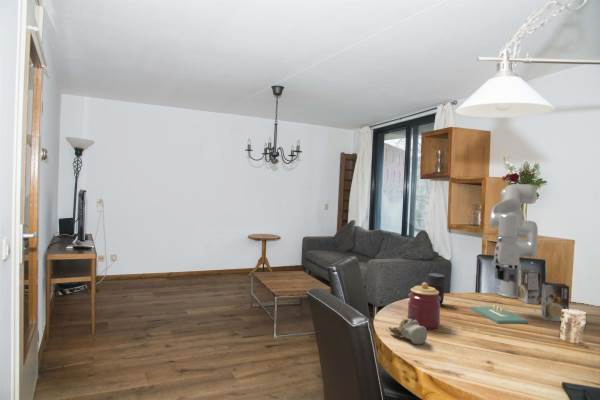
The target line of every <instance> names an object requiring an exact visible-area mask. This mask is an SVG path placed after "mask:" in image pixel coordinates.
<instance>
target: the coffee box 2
mask: <svg viewBox="0 0 600 400" xmlns="http://www.w3.org/2000/svg"><path fill="white" fill-rule="evenodd" d="M569 301H570V286H569V285H567V284H565V283H557V282H549V281H548V282H547V281H542V282H541V307H540V317H542V318H543V319H544V320H545V321H551V322H560V317H561V310H562V309H568V310H569V308H570V305H569V304H570V302H569Z"/></svg>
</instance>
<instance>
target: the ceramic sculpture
mask: <svg viewBox="0 0 600 400" xmlns="http://www.w3.org/2000/svg"><path fill="white" fill-rule="evenodd" d="M388 329H389V331H391V333H392V334H394V335H396V336H398V337H400V336H401V337H403V338H404V339H407V340H410V342H412V344H413V345H422V344H424V343H425V342H426V340H427V339H428V329H426V328H425V327H424V326H420V325H419V323H418V321H417V320H416V319H414V318H413V317H410V319H407V318H405V319H402V320H401V322H400V324H399V327H396V326H395V327H391V326H389V327H388Z"/></svg>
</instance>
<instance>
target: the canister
mask: <svg viewBox="0 0 600 400" xmlns="http://www.w3.org/2000/svg"><path fill="white" fill-rule="evenodd" d="M410 291H411V292H409V293H408V295H407V296H408V297H409V299H408V302H407V304H408V305H407V317H406V319H410V317H413V318H414V319H416V320H417V321H418V323H419V325H420V326H424V327H425V328H426V330H436V329H438V328H439V327H440V324H441V319H440V318H441V317H440V316H441V307H442V306H440V304H439V301H440V300H441V297H440V296H438V294H439V292H438V291H437V290H436V289H435V288H433V287H429V286H428V284H427V282H424V281H423V282H422V283H421V285H414V287H411V288H410Z"/></svg>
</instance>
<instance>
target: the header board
mask: <svg viewBox="0 0 600 400" xmlns="http://www.w3.org/2000/svg"><path fill="white" fill-rule="evenodd" d="M470 310H472V311H474V312H475V313H477V314H480V315H481V316H484V317H485V318H486V319H489V320H490V321H492V322H494V323H496V324H528V320H527V319H525V318H523V317H521V316H519V315H517V314H515V313H512V312H510V311H508V310H507V309H505V308H503V307H500V306H498V305H496V304H493V305H492V306H471V307H470Z"/></svg>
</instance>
